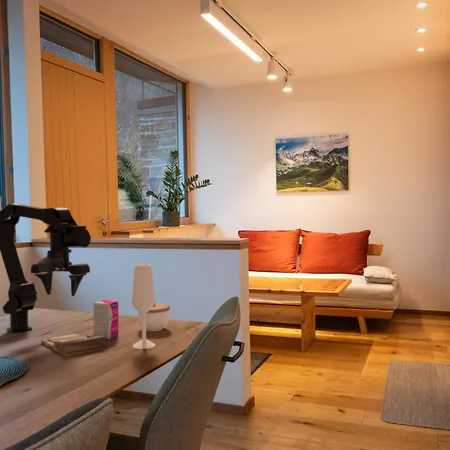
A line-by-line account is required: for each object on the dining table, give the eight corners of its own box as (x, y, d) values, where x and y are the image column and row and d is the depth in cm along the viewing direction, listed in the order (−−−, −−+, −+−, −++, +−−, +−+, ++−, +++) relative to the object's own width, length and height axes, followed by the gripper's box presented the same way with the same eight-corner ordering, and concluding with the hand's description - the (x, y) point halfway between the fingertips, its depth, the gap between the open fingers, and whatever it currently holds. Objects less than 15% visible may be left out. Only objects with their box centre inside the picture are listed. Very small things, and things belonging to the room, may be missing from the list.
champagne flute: (143, 341, 159) (142, 263, 158) (160, 344, 156) (159, 264, 155) (127, 346, 154) (126, 265, 153) (144, 350, 150) (143, 266, 149)
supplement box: (109, 340, 161) (108, 303, 160) (92, 339, 163) (92, 302, 162) (119, 336, 166) (118, 300, 166) (103, 334, 168) (102, 299, 168)
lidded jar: (131, 331, 172) (130, 303, 171) (148, 324, 182) (147, 297, 181) (160, 334, 168) (159, 305, 167) (175, 327, 178) (175, 299, 177)
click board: (41, 343, 158) (41, 332, 158) (78, 336, 166) (78, 325, 166) (66, 356, 144) (65, 344, 144) (105, 348, 152) (105, 336, 152)
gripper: (18, 248, 162) (19, 298, 163) (69, 249, 156) (70, 301, 157) (41, 245, 173) (42, 292, 174) (90, 246, 167) (91, 294, 168)
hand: (60, 295), depth 168 cm, fingers open, 9 cm apart
